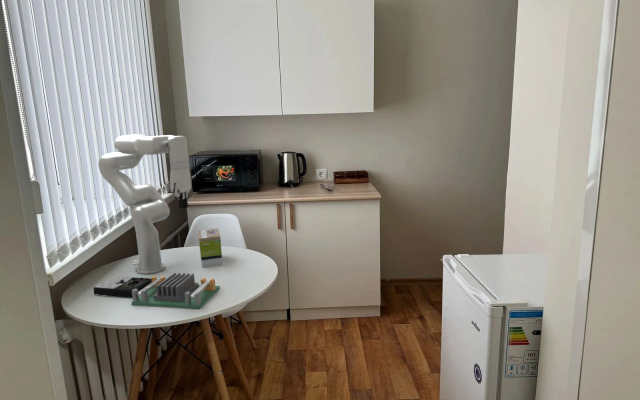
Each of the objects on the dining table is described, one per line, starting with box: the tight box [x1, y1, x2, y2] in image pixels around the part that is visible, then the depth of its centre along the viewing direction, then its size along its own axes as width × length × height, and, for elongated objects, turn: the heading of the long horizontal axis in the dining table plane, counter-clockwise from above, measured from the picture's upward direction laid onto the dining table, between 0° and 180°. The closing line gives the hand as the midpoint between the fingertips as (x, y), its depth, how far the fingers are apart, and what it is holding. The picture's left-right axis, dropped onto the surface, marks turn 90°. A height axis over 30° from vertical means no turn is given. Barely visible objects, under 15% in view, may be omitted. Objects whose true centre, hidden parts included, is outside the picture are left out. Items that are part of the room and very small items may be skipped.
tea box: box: [197, 228, 223, 268], centre depth 213 cm, size 15×10×15 cm
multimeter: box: [93, 275, 152, 299], centre depth 182 cm, size 13×19×5 cm
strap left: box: [136, 278, 161, 296], centre depth 175 cm, size 2×15×1 cm, turn 169°
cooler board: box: [131, 272, 221, 310], centre depth 174 cm, size 28×19×7 cm
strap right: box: [189, 280, 210, 299], centre depth 170 cm, size 2×15×1 cm, turn 169°
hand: (183, 207), depth 187 cm, fingers closed
